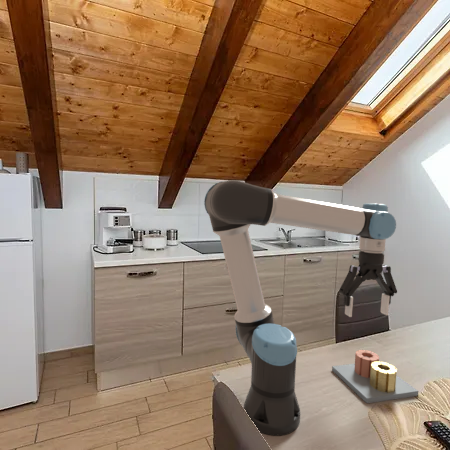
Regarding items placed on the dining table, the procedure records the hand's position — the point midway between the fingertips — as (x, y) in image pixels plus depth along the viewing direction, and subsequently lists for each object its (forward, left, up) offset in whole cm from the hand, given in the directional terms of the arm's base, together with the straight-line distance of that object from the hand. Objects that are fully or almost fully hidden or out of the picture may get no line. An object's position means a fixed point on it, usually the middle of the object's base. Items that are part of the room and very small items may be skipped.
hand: (366, 314), depth 106 cm
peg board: (0, -4, -21) cm, 21 cm away
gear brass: (0, -9, -19) cm, 21 cm away
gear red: (+1, -1, -19) cm, 19 cm away
